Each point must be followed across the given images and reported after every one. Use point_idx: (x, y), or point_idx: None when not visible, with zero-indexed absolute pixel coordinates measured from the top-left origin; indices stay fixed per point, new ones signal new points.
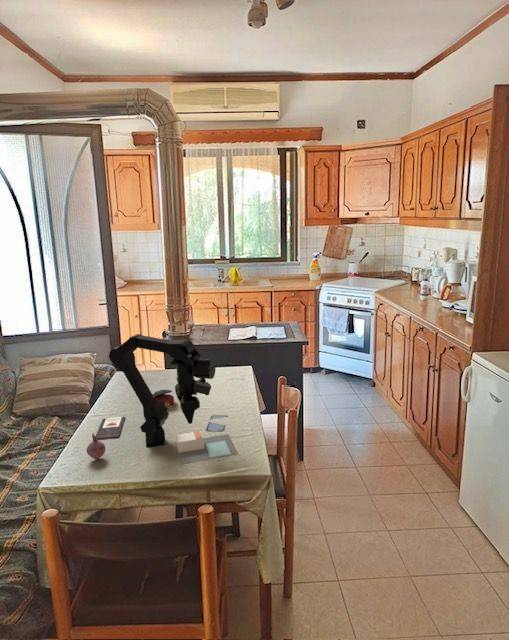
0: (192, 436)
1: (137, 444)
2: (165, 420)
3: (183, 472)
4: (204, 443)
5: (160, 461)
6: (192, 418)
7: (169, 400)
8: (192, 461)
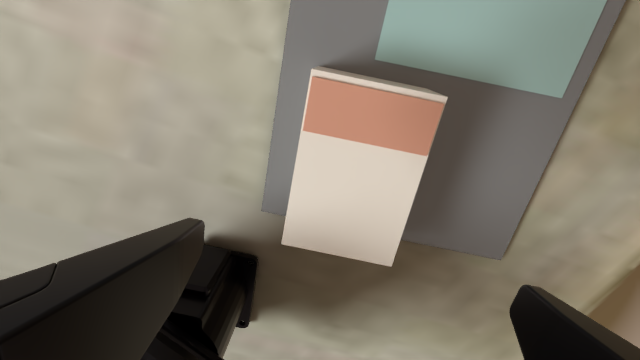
0: (367, 161)
1: None
2: (162, 335)
3: (565, 263)
4: (362, 61)
5: (396, 309)
6: (623, 346)
7: None
8: (519, 202)
